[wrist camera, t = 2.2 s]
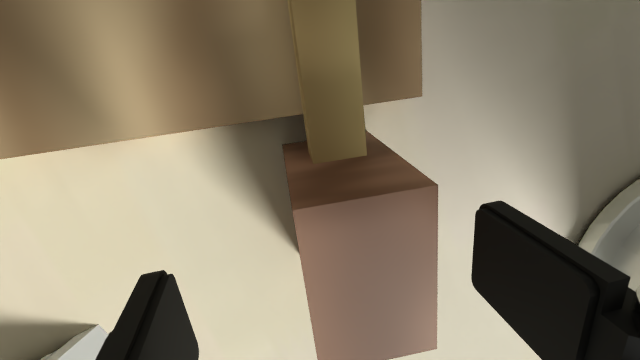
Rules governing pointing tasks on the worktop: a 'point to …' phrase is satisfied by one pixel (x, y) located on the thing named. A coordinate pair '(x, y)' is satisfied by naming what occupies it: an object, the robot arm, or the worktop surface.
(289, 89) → the oak board
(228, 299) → the worktop surface
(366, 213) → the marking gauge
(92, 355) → the crown molding
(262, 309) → the worktop surface
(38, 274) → the worktop surface
